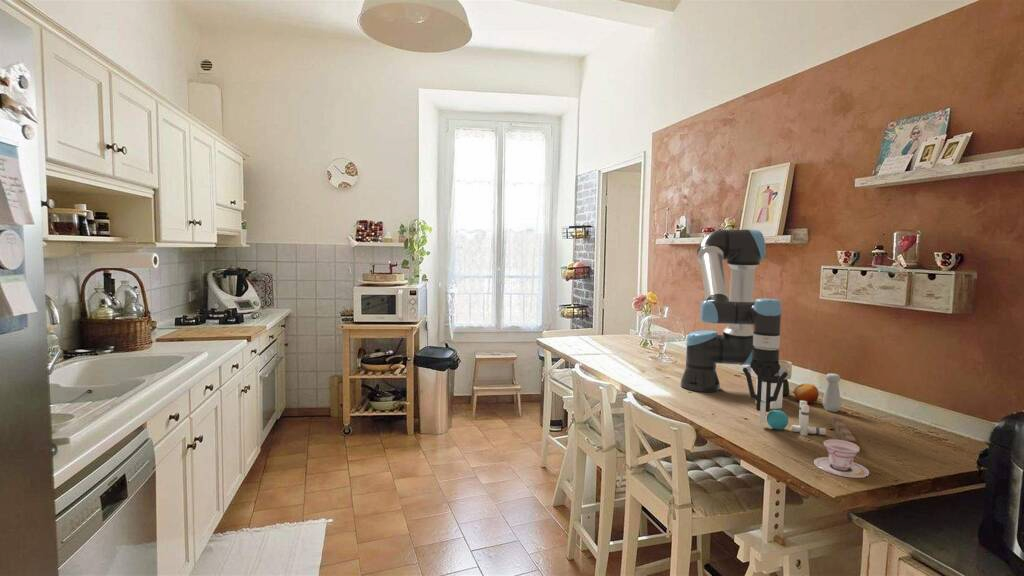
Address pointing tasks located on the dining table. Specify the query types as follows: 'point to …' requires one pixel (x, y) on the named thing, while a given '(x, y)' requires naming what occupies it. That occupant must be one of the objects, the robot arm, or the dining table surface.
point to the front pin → (810, 430)
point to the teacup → (841, 459)
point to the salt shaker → (832, 393)
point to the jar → (774, 380)
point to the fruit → (806, 393)
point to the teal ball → (777, 419)
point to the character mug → (787, 367)
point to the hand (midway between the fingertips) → (762, 421)
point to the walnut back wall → (842, 430)
